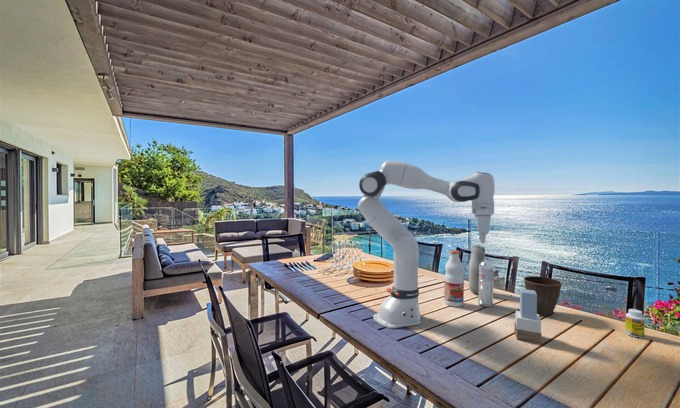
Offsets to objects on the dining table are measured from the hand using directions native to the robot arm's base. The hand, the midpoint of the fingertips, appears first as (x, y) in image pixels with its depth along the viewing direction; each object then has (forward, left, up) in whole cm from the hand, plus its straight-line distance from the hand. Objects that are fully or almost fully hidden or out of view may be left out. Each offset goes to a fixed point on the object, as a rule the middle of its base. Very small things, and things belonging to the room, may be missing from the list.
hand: (482, 241), depth 127 cm
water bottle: (+22, +14, -37) cm, 45 cm away
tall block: (+7, -16, -28) cm, 33 cm away
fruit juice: (+9, +23, -37) cm, 45 cm away
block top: (+7, -16, -33) cm, 37 cm away
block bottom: (+7, -16, -37) cm, 41 cm away
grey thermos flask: (+34, +28, -37) cm, 58 cm away
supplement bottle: (+47, -35, -37) cm, 69 cm away
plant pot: (+37, -5, -37) cm, 53 cm away
